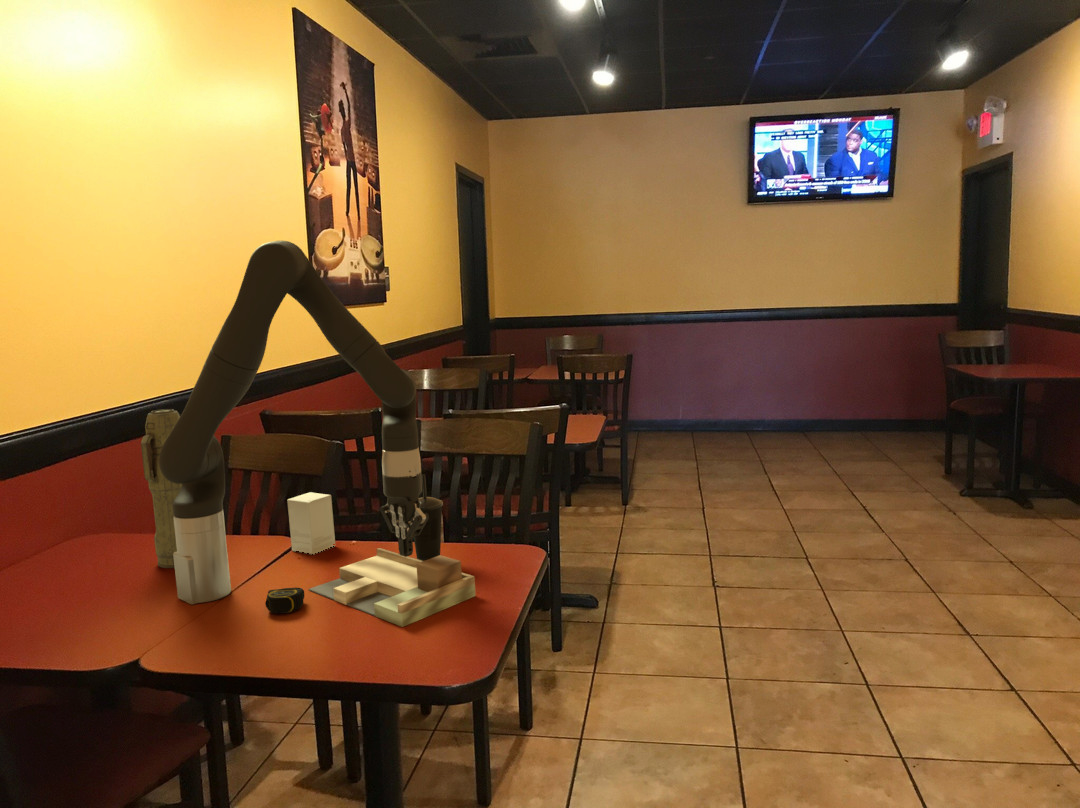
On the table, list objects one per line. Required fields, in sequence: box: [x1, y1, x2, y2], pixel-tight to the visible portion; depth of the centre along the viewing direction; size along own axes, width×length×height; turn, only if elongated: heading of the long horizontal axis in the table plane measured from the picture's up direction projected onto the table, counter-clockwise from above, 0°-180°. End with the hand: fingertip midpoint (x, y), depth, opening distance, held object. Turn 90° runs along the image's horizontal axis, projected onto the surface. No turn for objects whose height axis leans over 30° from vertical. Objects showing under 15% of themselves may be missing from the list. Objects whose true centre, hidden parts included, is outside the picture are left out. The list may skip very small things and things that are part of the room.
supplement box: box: [287, 491, 336, 555], centre depth 191 cm, size 7×7×13 cm
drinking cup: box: [413, 473, 444, 561], centre depth 176 cm, size 8×8×20 cm
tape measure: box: [264, 587, 305, 614], centre depth 155 cm, size 7×7×4 cm
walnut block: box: [416, 554, 463, 592], centre depth 156 cm, size 6×6×5 cm
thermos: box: [140, 408, 182, 569], centre depth 183 cm, size 9×12×35 cm
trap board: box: [308, 547, 476, 628], centre depth 161 cm, size 18×30×4 cm, turn 48°
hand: (406, 555), depth 163 cm, fingers closed
